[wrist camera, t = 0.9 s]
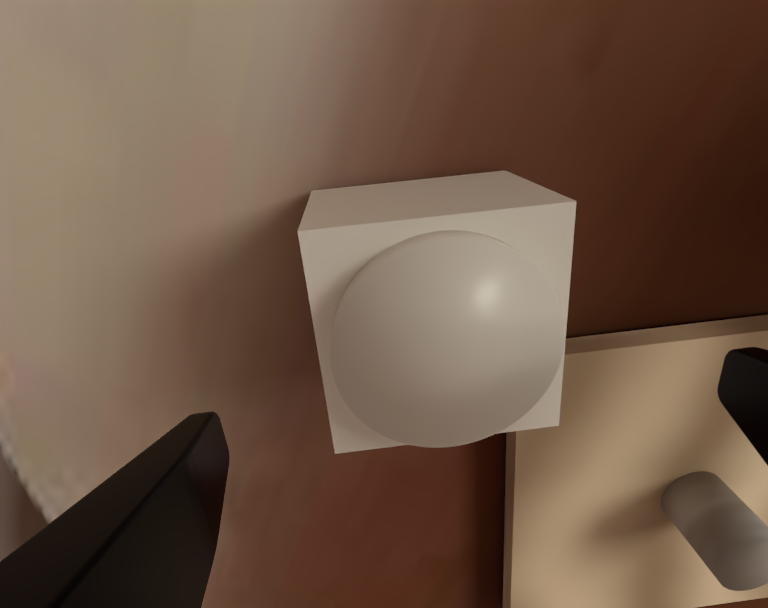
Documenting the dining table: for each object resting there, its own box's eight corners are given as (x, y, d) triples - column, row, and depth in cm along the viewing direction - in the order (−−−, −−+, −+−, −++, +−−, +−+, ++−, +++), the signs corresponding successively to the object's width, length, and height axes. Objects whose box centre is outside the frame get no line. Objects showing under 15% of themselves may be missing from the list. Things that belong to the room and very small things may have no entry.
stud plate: (901, 298, 16) (1062, 355, 13) (794, 570, 22) (884, 663, 18) (508, 345, 16) (558, 418, 12) (502, 611, 21) (535, 715, 18)
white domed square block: (505, 170, 13) (591, 207, 9) (502, 340, 16) (569, 441, 11) (311, 190, 13) (294, 239, 9) (337, 360, 16) (334, 471, 11)
